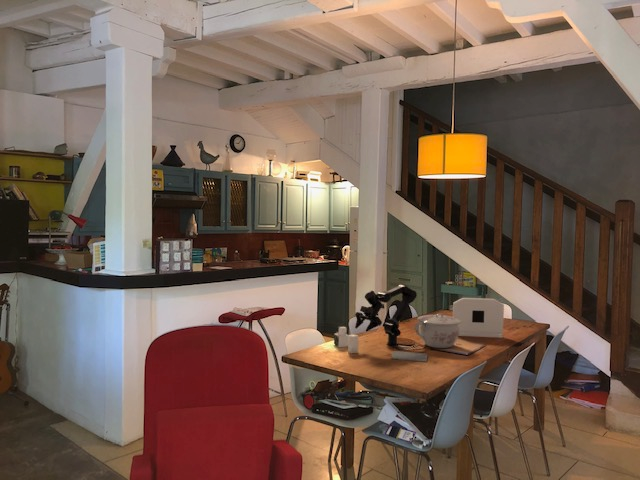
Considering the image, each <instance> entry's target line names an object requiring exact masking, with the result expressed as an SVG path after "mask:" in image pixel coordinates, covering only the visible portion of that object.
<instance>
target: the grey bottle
mask: <svg viewBox="0 0 640 480" xmlns="http://www.w3.org/2000/svg"><path fill="white" fill-rule="evenodd" d="M347 330H348V329H347V326H346V325H345V326H344V325H338V326H337V327H336V333H334V335H333V341H334V342H333V345H334V344H335V345H334V346H335V347H337V346H338V347H337V348H344V347H345V348H348V336H349V335H350V334H347Z"/></svg>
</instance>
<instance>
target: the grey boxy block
mask: <svg viewBox="0 0 640 480" xmlns="http://www.w3.org/2000/svg"><path fill="white" fill-rule="evenodd" d="M504 310H505V305H504V303H502V302H500V301H499V300H497V299H496V298H484V297H483V298H482V297H478V298H477V297H461V298H460V299H457V300H456V301H454V302H453V305H452V317H455V318H458V319H460V320H461V321H462V322H461V323H460V324H458V327H459V335H458V337H479V338H480V337H481V338H483V337H484V338H501V339H502V338H503V333H504V312H505V311H504Z"/></svg>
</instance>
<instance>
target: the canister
mask: <svg viewBox="0 0 640 480" xmlns="http://www.w3.org/2000/svg"><path fill="white" fill-rule="evenodd" d="M348 335H349V336H348V347H347V353H348V352H349V353H348V354H350V353H357V354H359V342H360V341H359V335H358V334H348Z"/></svg>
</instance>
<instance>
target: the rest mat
mask: <svg viewBox="0 0 640 480" xmlns="http://www.w3.org/2000/svg"><path fill="white" fill-rule="evenodd" d="M428 355H429V353H421V352H413V351H411V352H410V351H398V350H393V352H392V354H391V357H390V360H395V359H398V360H397V361H399V360H400V361H408V362H420V363H427V360H428V357H429V356H428Z"/></svg>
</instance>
